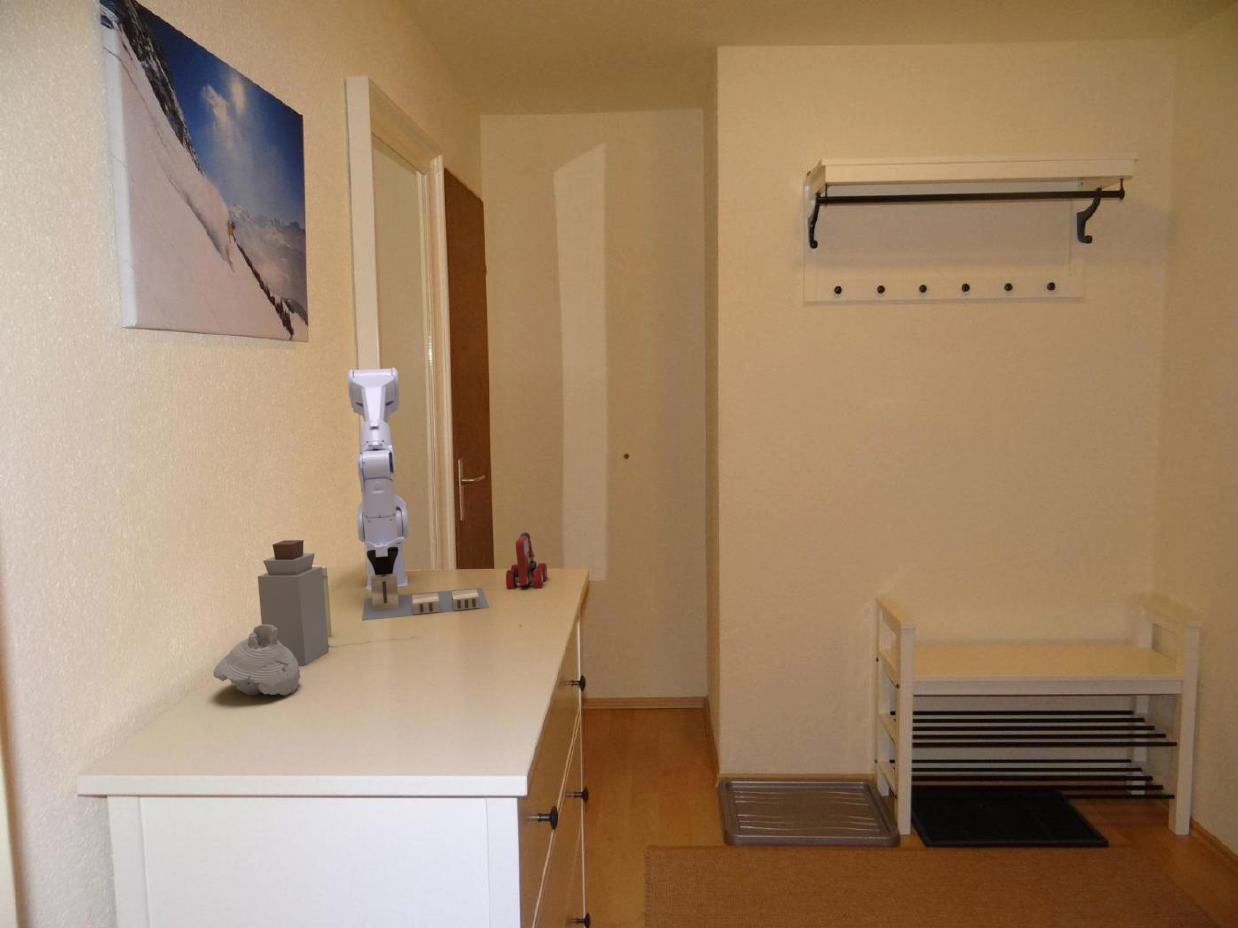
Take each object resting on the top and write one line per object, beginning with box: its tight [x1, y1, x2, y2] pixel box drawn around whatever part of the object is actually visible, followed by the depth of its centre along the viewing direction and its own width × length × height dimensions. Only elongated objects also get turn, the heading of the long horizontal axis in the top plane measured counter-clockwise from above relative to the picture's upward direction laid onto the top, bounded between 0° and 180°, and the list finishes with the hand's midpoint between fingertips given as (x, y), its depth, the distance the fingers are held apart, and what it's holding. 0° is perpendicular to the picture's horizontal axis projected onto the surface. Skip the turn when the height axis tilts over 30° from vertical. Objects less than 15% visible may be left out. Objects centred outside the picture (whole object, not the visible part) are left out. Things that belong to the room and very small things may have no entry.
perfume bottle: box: [257, 539, 330, 666], centre depth 140 cm, size 7×7×18 cm
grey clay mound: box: [213, 624, 301, 696], centre depth 126 cm, size 12×12×11 cm
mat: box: [361, 586, 490, 621], centre depth 169 cm, size 16×22×1 cm
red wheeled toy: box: [505, 531, 548, 590], centre depth 181 cm, size 7×12×10 cm, turn 177°
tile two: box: [412, 593, 440, 614], centre depth 164 cm, size 2×4×6 cm
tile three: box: [451, 589, 480, 610], centre depth 165 cm, size 2×4×6 cm
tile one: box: [370, 573, 399, 611], centre depth 166 cm, size 2×4×6 cm, turn 103°
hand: (385, 588), depth 170 cm, fingers closed
